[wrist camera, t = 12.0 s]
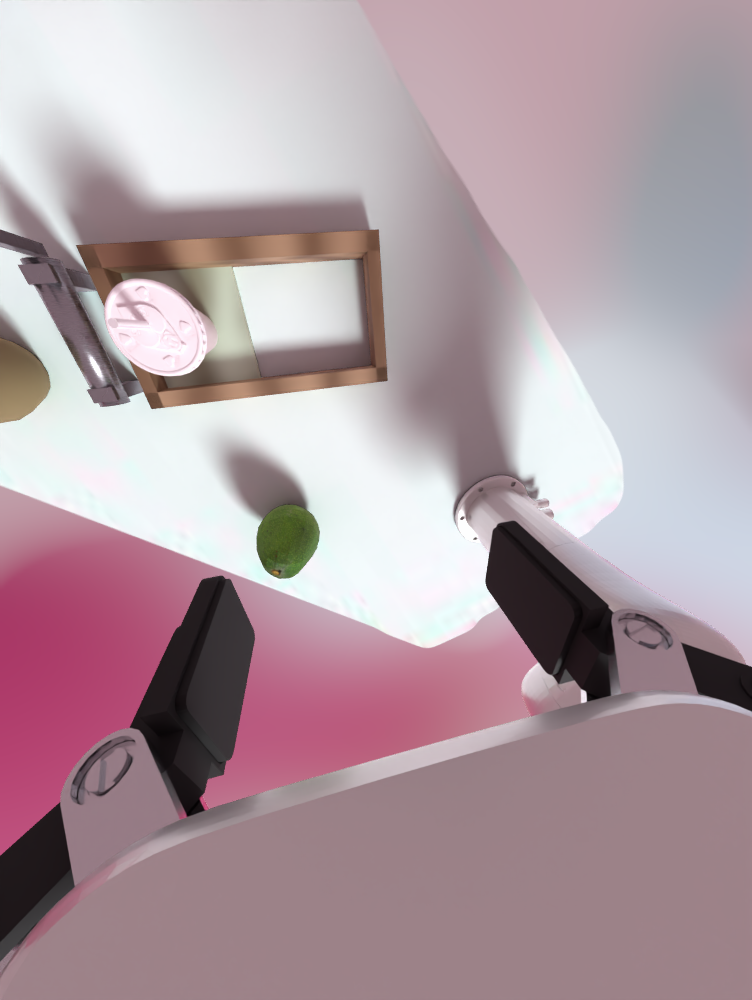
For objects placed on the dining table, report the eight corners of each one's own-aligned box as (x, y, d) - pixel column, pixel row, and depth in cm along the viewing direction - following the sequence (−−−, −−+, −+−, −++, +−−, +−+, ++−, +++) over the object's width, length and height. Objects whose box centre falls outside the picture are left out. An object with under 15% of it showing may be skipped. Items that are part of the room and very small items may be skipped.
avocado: (270, 486, 40) (256, 539, 30) (325, 501, 43) (330, 554, 32) (256, 532, 43) (239, 594, 33) (308, 544, 46) (308, 604, 35)
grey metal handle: (82, 253, 26) (3, 225, 19) (147, 395, 32) (104, 411, 25) (52, 255, 26) (-39, 227, 19) (123, 398, 32) (73, 414, 25)
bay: (372, 238, 29) (378, 229, 27) (381, 377, 36) (387, 380, 33) (98, 254, 26) (75, 245, 24) (164, 403, 33) (151, 409, 30)
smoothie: (176, 277, 28) (75, 232, 16) (242, 325, 30) (199, 318, 18) (151, 339, 30) (43, 341, 18) (216, 379, 32) (160, 404, 20)
